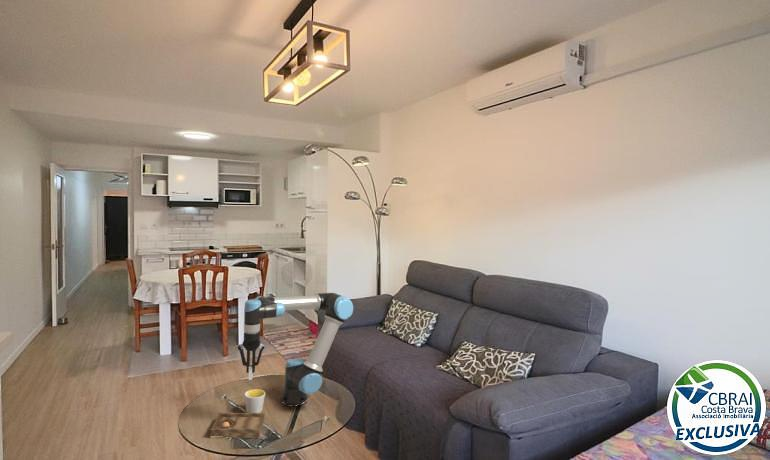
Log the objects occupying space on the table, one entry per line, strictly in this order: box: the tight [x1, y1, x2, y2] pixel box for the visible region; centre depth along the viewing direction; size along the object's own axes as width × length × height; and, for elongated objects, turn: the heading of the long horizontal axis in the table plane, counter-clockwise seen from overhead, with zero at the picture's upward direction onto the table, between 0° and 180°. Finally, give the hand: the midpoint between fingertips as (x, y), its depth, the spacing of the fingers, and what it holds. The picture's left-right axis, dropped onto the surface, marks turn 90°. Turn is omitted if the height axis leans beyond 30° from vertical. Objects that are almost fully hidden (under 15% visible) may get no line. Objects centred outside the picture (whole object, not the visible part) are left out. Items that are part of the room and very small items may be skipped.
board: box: [209, 412, 266, 439], centre depth 203 cm, size 22×16×4 cm
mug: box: [244, 389, 266, 413], centre depth 221 cm, size 14×10×10 cm
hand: (250, 378), depth 207 cm, fingers closed
